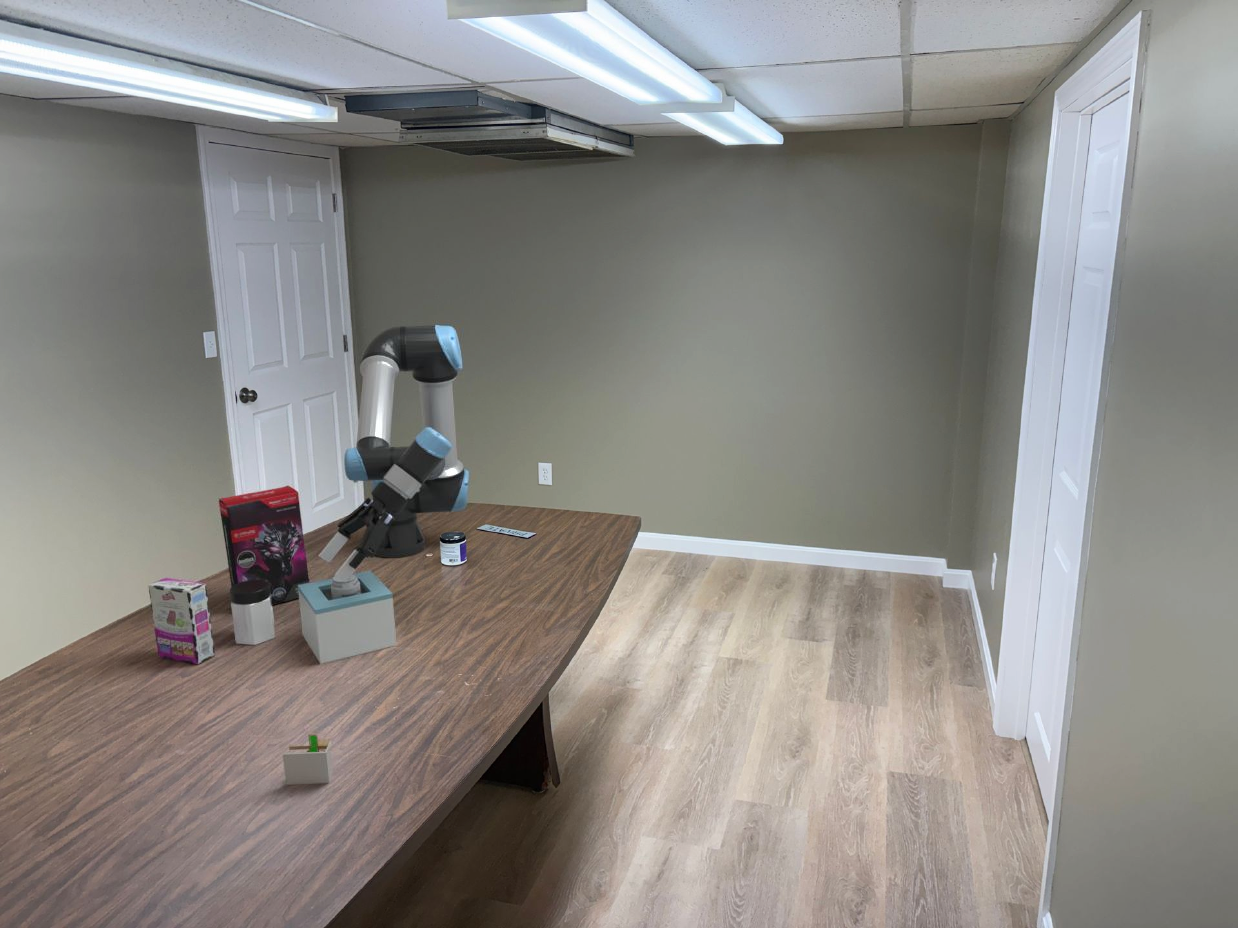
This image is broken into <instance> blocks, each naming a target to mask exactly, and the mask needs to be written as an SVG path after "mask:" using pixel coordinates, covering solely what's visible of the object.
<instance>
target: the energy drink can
mask: <svg viewBox="0 0 1238 928" xmlns="http://www.w3.org/2000/svg"><path fill="white" fill-rule="evenodd" d="M355 574H356V573H353V574H352V575H351V577H350V578H349V579H348V580H347V582H346V583H345V582H344V581H342V580H341V579H340V578H338V577H337V576H335V575H334V576H333V577H332V578H333V582H332V584H331V595H332V600H334V599H339V598H344V597H349V596H353V595H358V594H361V591H360V582H359V581H358V579H357V578H356V575H355Z"/></svg>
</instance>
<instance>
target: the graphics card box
mask: <svg viewBox="0 0 1238 928" xmlns="http://www.w3.org/2000/svg"><path fill="white" fill-rule="evenodd" d="M218 507H219V513H220V517H221V518H220V519H221V525H222V526H221V527H222V531H223V539H224V544H225V551H226V557H227V565H228V572H229V573H228V574H229V580H230V588H231V587H232V586H233V585H235V584H237V583H240V582H244V581H249V580H264V581H267V582H269V584H270V589H271V601H272V606H273V605H277V604H281V603H285V602H287V601H288V602H289V601H293V600H295V599H299V593H298V585H301V584H306V583H310V578H309V570H308V562H307V555H306V545H305V539H304V538H305V537H304V532H303V531H304V529H303V520H302V514H301V505H300V495H299V491H297V490H296V489H295V488H294V487H292V486H290V485H285V486H282V487H278V488H271V489H267V490H259V491H254V492H249V493H243V494H238V495H233V496H228V497H222V498H219V499H218Z"/></svg>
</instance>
